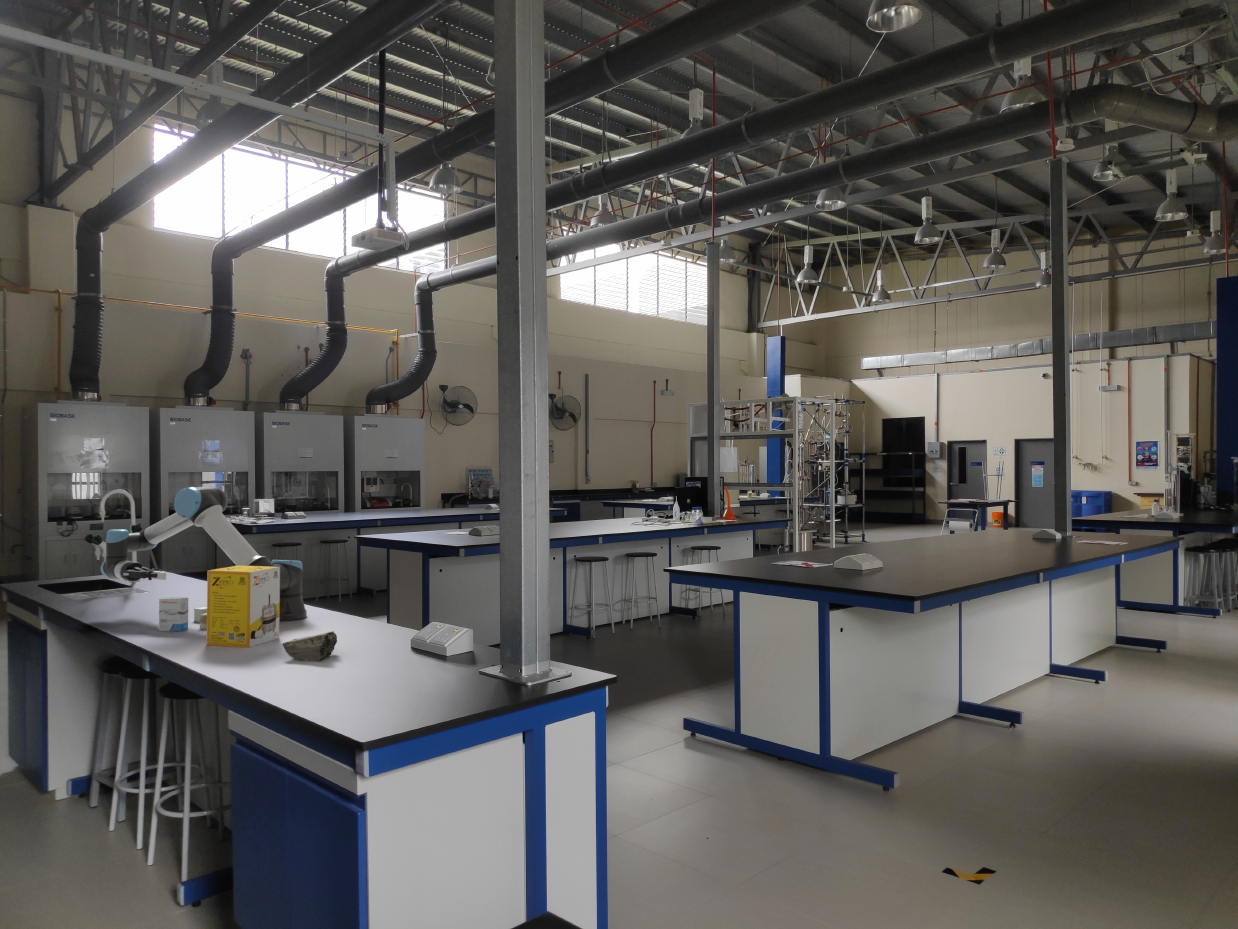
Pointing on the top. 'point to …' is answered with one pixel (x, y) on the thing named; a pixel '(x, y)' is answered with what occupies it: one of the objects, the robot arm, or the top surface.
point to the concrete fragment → (311, 647)
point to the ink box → (173, 614)
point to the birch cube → (203, 621)
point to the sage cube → (199, 613)
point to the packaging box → (243, 605)
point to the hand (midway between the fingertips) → (164, 576)
